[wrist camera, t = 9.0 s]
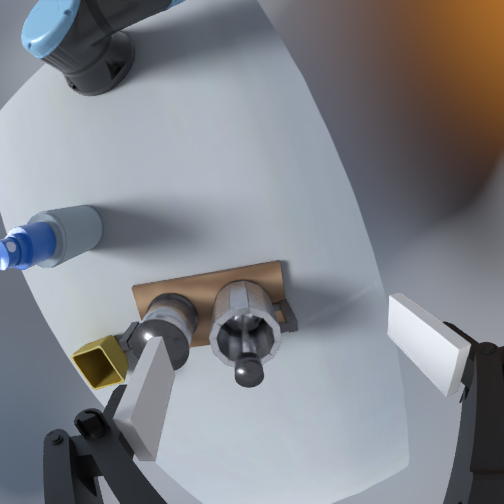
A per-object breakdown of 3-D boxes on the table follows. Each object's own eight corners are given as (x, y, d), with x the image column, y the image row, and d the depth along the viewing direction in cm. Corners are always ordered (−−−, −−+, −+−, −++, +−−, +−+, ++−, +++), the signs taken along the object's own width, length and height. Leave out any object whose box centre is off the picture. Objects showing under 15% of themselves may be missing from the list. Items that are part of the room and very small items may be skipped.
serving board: (134, 285, 53) (131, 287, 51) (278, 260, 54) (279, 262, 52) (153, 347, 56) (152, 351, 54) (288, 327, 57) (289, 330, 55)
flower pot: (116, 324, 54) (100, 345, 46) (137, 358, 56) (125, 382, 47) (87, 336, 54) (69, 356, 46) (107, 367, 56) (93, 390, 48)
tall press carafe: (209, 284, 52) (202, 314, 39) (280, 271, 52) (295, 297, 40) (220, 334, 54) (218, 373, 42) (287, 322, 55) (302, 358, 42)
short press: (129, 298, 52) (95, 338, 36) (191, 288, 52) (175, 329, 36) (144, 343, 54) (119, 392, 38) (203, 336, 54) (195, 388, 38)
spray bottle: (90, 196, 49) (4, 206, 24) (110, 236, 51) (32, 272, 26) (59, 219, 49) (-27, 242, 25) (78, 257, 51) (0, 301, 26)
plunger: (220, 298, 49) (214, 357, 31) (259, 291, 50) (274, 347, 31) (227, 332, 51) (227, 401, 33) (265, 326, 51) (281, 392, 33)
